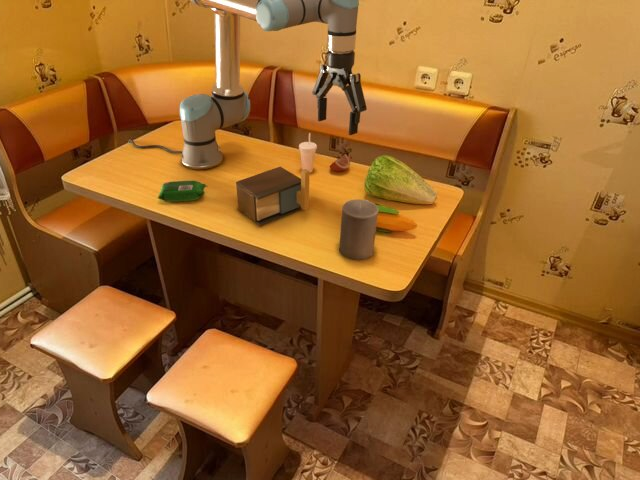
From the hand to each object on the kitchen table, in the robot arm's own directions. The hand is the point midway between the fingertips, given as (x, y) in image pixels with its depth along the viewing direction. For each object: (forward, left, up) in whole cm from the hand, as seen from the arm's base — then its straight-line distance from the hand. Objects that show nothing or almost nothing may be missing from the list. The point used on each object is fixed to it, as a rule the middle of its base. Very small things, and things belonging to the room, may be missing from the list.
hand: (337, 126), depth 146 cm
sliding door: (-6, -14, -24) cm, 28 cm away
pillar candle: (+18, -21, -25) cm, 38 cm away
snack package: (-44, -23, -25) cm, 56 cm away
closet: (-15, -14, -25) cm, 33 cm away
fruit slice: (-8, +21, -25) cm, 34 cm away
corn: (+20, -7, -25) cm, 33 cm away
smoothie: (-18, +15, -25) cm, 34 cm away
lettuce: (+18, +12, -25) cm, 33 cm away
